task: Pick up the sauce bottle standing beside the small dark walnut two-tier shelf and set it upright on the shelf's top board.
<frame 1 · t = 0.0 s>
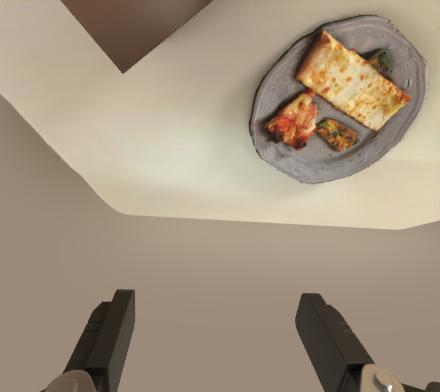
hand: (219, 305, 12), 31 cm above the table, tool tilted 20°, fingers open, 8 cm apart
food plate: (328, 111, 39), on the table
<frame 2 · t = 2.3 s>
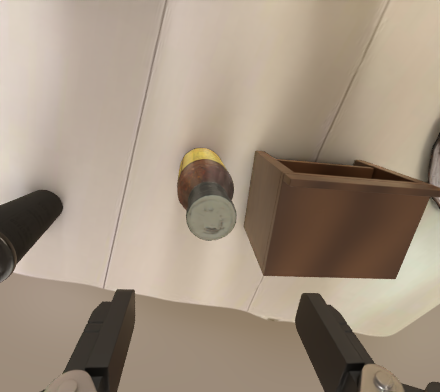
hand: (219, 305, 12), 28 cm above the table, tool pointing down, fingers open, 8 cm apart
sauce bottle: (201, 165, 39), on the table
drinking cup: (46, 204, 38), on the table
shelf: (301, 194, 42), on the table
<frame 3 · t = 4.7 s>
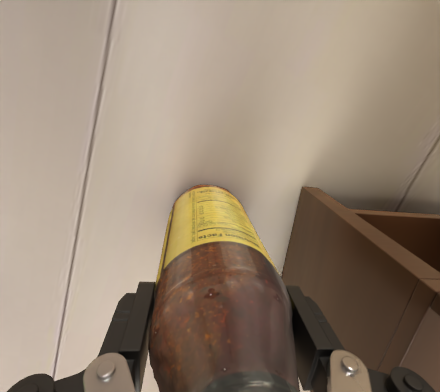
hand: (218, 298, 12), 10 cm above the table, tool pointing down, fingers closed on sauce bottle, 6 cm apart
sauce bottle: (207, 211, 22), on the table, touching gripper
shelf: (372, 254, 25), on the table
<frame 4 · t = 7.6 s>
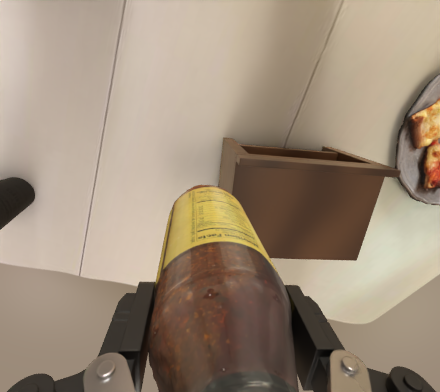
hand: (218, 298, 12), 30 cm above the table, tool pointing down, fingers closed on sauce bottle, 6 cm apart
sauce bottle: (207, 212, 22), point 19 cm above the table, touching gripper
drinking cup: (19, 191, 39), on the table
shelf: (272, 181, 42), on the table
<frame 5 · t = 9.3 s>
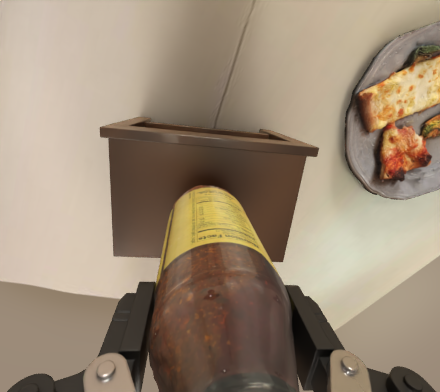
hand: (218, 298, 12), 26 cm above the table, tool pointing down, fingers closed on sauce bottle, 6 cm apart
sauce bottle: (207, 212, 22), point 16 cm above the table, touching gripper
food plate: (417, 117, 37), on the table
shelf: (202, 169, 37), on the table
when the fingers open (23 cm above the table, at t = 10.7 s): sauce bottle stays where it is, resting on shelf.
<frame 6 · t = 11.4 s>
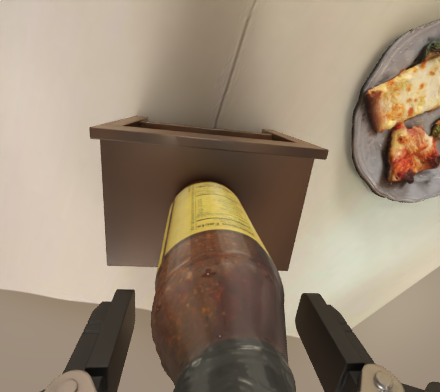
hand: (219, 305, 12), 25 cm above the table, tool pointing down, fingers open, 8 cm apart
sauce bottle: (206, 206, 23), point 13 cm above the table, touching shelf
food plate: (427, 116, 35), on the table
shelf: (202, 171, 35), on the table
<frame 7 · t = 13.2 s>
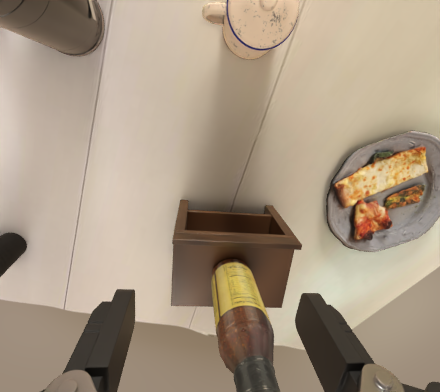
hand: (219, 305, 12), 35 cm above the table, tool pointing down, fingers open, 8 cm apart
sauce bottle: (231, 271, 38), point 13 cm above the table, touching shelf
drinking cup: (14, 243, 48), on the table
food plate: (381, 193, 51), on the table
shelf: (224, 232, 50), on the table
teacup with lid: (240, 28, 39), on the table
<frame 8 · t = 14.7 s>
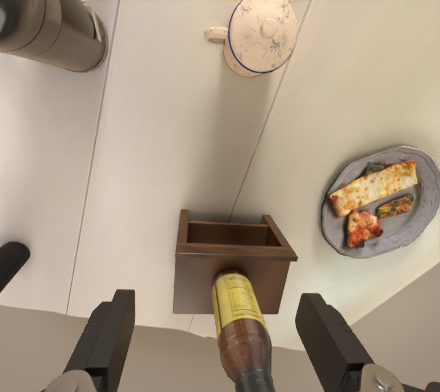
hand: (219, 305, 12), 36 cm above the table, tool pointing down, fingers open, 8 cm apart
sauce bottle: (230, 281, 40), point 13 cm above the table, touching shelf
drinking cup: (17, 251, 49), on the table
food plate: (373, 203, 53), on the table
shelf: (222, 240, 52), on the table
teacup with lid: (240, 46, 40), on the table
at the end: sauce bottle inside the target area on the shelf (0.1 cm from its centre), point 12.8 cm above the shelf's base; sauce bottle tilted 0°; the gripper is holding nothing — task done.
